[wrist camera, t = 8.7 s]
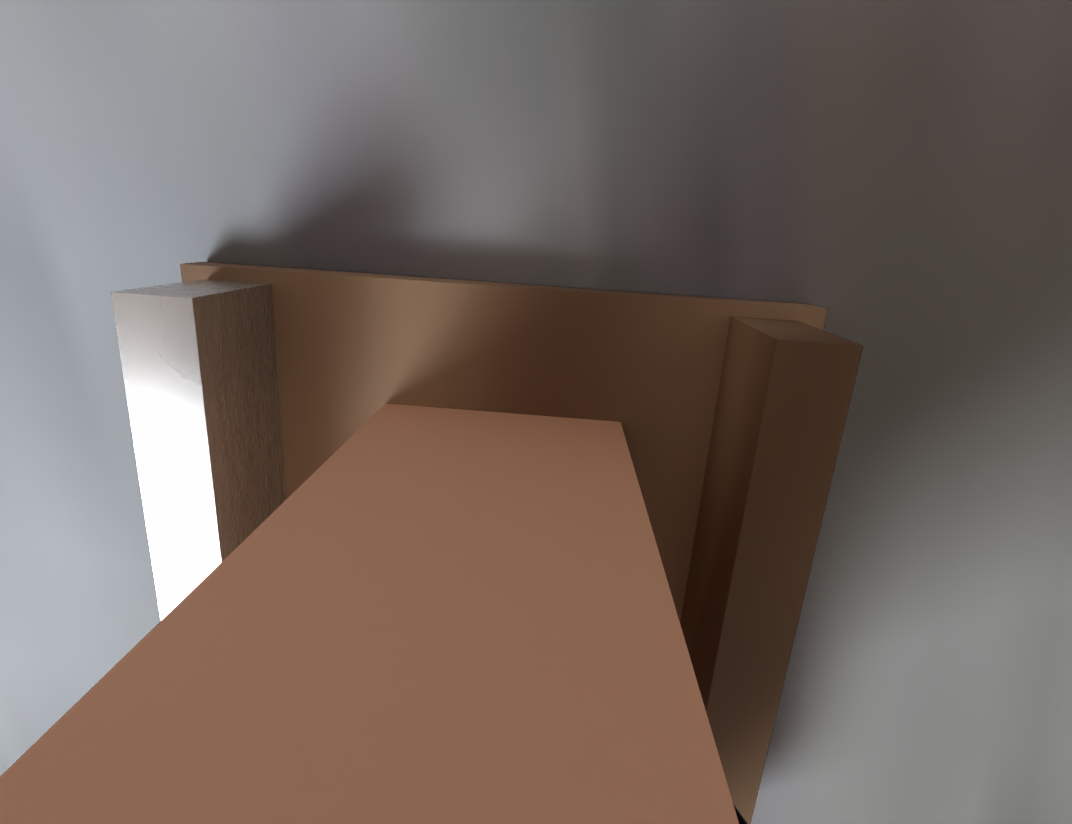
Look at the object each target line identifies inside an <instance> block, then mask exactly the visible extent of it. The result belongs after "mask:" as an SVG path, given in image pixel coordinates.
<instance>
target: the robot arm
mask: <svg viewBox="0 0 1072 824" xmlns="http://www.w3.org/2000/svg"><path fill="white" fill-rule="evenodd" d="M733 805H734V804H733ZM734 808H735V812H736V815H737V818H738V822H739V824H748V823H747V821H746V820H745V819H744V817H743V816H742V815H741V813H740V812H739V810H738V809H737V808H736V806H735V805H734Z"/></svg>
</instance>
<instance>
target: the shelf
mask: <svg viewBox="0 0 1072 824" xmlns="http://www.w3.org/2000/svg"><path fill="white" fill-rule="evenodd" d="M180 266H181V275H182V283H175V284H167V285H160V286H153V287H145V288H138V289H131V290H123V291H116V292H111V297H112V304H113V311H114V317H115V324H116V330H117V337H118V343H119V350H120V357H121V363H122V370H123V376H124V383H125V389H126V396H127V403H128V409H129V416H130V422H131V429H132V435H133V442H134V449H135V455H136V462H137V468H138V475H139V481H140V488H141V495H142V501H143V508H144V514H145V521H146V527H147V534H148V541H149V547H150V554H151V560H152V567H153V573H154V580H155V587H156V593H157V600H158V606H159V613H160V619H161V621H162V620H163V619H164V618H165V617H166V616H167V615H168V614H169V613H170V612H171V611H172V610H173V609H174V608H175V607H176V606H177V605H178V604H179V603H180V602H181V601H182V600H183V599H184V598H185V597H186V596H187V595H188V594H189V593H190V592H191V591H192V590H194V589H195V588H196V587H197V586H198V585H199V584H200V583H201V582H202V581H203V580H204V579H205V578H206V577H207V576H208V575H209V574H210V573H211V572H212V571H213V570H214V569H215V568H216V567H217V566H218V565H219V564H220V563H221V562H222V561H223V560H224V559H225V558H227V557H228V556H229V555H230V554H231V553H232V552H233V551H234V550H235V549H236V548H237V547H238V546H239V545H240V544H241V543H242V542H243V541H244V540H245V539H246V538H247V537H248V536H249V535H250V534H251V533H252V532H253V531H254V530H255V529H256V528H257V527H259V526H260V525H261V524H262V523H263V522H264V521H265V520H266V519H267V518H268V517H269V516H270V515H271V514H272V513H273V512H274V511H275V510H276V509H277V508H278V507H279V506H280V505H281V504H282V503H283V502H284V501H285V500H286V499H287V498H288V497H289V496H291V495H292V494H293V493H294V492H295V491H296V490H297V489H298V488H299V487H300V486H301V485H302V484H303V483H304V482H305V481H306V480H307V479H308V478H309V477H310V476H311V475H312V474H313V473H314V472H315V471H316V470H317V469H318V468H319V467H320V466H321V465H323V464H324V463H325V462H326V461H327V460H328V459H329V458H330V457H331V456H332V455H333V454H334V453H335V452H336V451H337V450H338V449H339V448H340V447H341V446H342V445H343V444H344V443H345V442H346V441H347V440H348V439H349V438H350V437H351V436H352V435H353V434H355V433H356V432H357V431H358V430H359V429H360V428H361V427H362V426H363V425H364V424H365V423H366V422H367V421H368V420H369V419H370V418H371V417H372V416H373V415H374V414H375V413H376V412H377V411H378V410H379V409H380V408H381V407H382V406H383V405H384V404H398V405H411V406H423V407H436V408H449V409H462V410H475V411H487V412H500V413H513V414H526V415H539V416H552V417H564V418H577V419H590V420H603V421H616V422H621V425H622V428H623V432H624V435H625V439H626V442H627V445H628V449H629V452H630V456H631V459H632V462H633V466H634V469H635V473H636V476H637V479H638V483H639V486H640V489H641V493H642V496H643V500H644V503H645V506H646V510H647V513H648V517H649V520H650V523H651V527H652V530H653V534H654V537H655V540H656V544H657V547H658V550H659V554H660V557H661V561H662V564H663V567H664V571H665V574H666V578H667V581H668V584H669V588H670V591H671V595H672V598H673V601H674V605H675V608H676V612H677V615H678V618H679V622H680V625H681V628H682V632H683V635H684V639H685V642H686V645H687V649H688V652H689V656H690V659H691V662H692V666H693V669H694V673H695V676H696V679H697V683H698V686H699V689H700V693H701V696H702V700H703V703H704V706H705V710H706V713H707V717H708V720H709V723H710V727H711V730H712V734H713V737H714V740H715V744H716V747H717V750H718V754H719V757H720V761H721V764H722V767H723V771H724V774H725V778H726V781H727V784H728V788H729V791H730V795H731V798H732V801H733V804H734V805H735V806H736V808H737V809H738V810H739V812H740V813H741V815H742V816H743V817H744V819H745V820H746V821H747V823H748V824H751V820H752V815H753V811H754V807H755V803H756V798H757V794H758V790H759V786H760V782H761V777H762V773H763V769H764V765H765V760H766V756H767V752H768V748H769V743H770V739H771V735H772V731H773V726H774V722H775V718H776V714H777V709H778V705H779V701H780V697H781V692H782V688H783V684H784V680H785V675H786V671H787V667H788V663H789V658H790V654H791V650H792V646H793V642H794V637H795V633H796V629H797V625H798V620H799V616H800V612H801V608H802V603H803V599H804V595H805V591H806V586H807V582H808V578H809V574H810V569H811V565H812V561H813V557H814V552H815V548H816V544H817V540H818V535H819V531H820V527H821V523H822V518H823V514H824V510H825V506H826V502H827V497H828V493H829V489H830V485H831V480H832V476H833V472H834V468H835V463H836V459H837V455H838V451H839V446H840V442H841V438H842V434H843V429H844V425H845V421H846V417H847V412H848V408H849V404H850V400H851V395H852V391H853V387H854V383H855V378H856V374H857V370H858V366H859V362H860V357H861V353H862V349H863V346H862V345H859V344H857V343H854V342H851V341H849V340H846V339H844V338H841V337H838V336H836V335H833V334H831V333H828V332H826V331H823V329H824V324H825V319H826V314H827V310H828V309H825V308H822V307H818V306H815V305H812V304H798V303H784V302H770V301H755V300H741V299H727V298H712V297H698V296H684V295H670V294H655V293H641V292H627V291H612V290H598V289H584V288H569V287H555V286H541V285H527V284H512V283H498V282H484V281H469V280H455V279H441V278H426V277H412V276H398V275H384V274H369V273H355V272H341V271H326V270H312V269H298V268H283V267H269V266H255V265H241V264H226V263H212V262H196V263H185V264H180Z"/></svg>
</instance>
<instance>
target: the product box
mask: <svg viewBox="0 0 1072 824" xmlns="http://www.w3.org/2000/svg"><path fill="white" fill-rule="evenodd" d="M0 824H739V822H738V818H737V815H736V812H735V808H734V805H733V801H732V798H731V795H730V791H729V788H728V784H727V781H726V778H725V774H724V771H723V767H722V764H721V761H720V757H719V754H718V750H717V747H716V744H715V740H714V737H713V734H712V730H711V727H710V723H709V720H708V717H707V713H706V710H705V706H704V703H703V700H702V696H701V693H700V689H699V686H698V683H697V679H696V676H695V673H694V669H693V666H692V662H691V659H690V656H689V652H688V649H687V645H686V642H685V639H684V635H683V632H682V628H681V625H680V622H679V618H678V615H677V612H676V608H675V605H674V601H673V598H672V595H671V591H670V588H669V584H668V581H667V578H666V574H665V571H664V567H663V564H662V561H661V557H660V554H659V550H658V547H657V544H656V540H655V537H654V534H653V530H652V527H651V523H650V520H649V517H648V513H647V510H646V506H645V503H644V500H643V496H642V493H641V489H640V486H639V483H638V479H637V476H636V473H635V469H634V466H633V462H632V459H631V456H630V452H629V449H628V445H627V442H626V439H625V435H624V432H623V428H622V425H621V422H616V421H603V420H590V419H577V418H564V417H552V416H539V415H526V414H513V413H500V412H487V411H475V410H462V409H449V408H436V407H423V406H411V405H398V404H384V405H383V406H382V407H381V408H380V409H379V410H378V411H377V412H376V413H375V414H374V415H373V416H372V417H371V418H370V419H369V420H368V421H367V422H366V423H365V424H364V425H363V426H362V427H361V428H360V429H359V430H358V431H357V432H356V433H355V434H353V435H352V436H351V437H350V438H349V439H348V440H347V441H346V442H345V443H344V444H343V445H342V446H341V447H340V448H339V449H338V450H337V451H336V452H335V453H334V454H333V455H332V456H331V457H330V458H329V459H328V460H327V461H326V462H325V463H324V464H323V465H321V466H320V467H319V468H318V469H317V470H316V471H315V472H314V473H313V474H312V475H311V476H310V477H309V478H308V479H307V480H306V481H305V482H304V483H303V484H302V485H301V486H300V487H299V488H298V489H297V490H296V491H295V492H294V493H293V494H292V495H291V496H289V497H288V498H287V499H286V500H285V501H284V502H283V503H282V504H281V505H280V506H279V507H278V508H277V509H276V510H275V511H274V512H273V513H272V514H271V515H270V516H269V517H268V518H267V519H266V520H265V521H264V522H263V523H262V524H261V525H260V526H259V527H257V528H256V529H255V530H254V531H253V532H252V533H251V534H250V535H249V536H248V537H247V538H246V539H245V540H244V541H243V542H242V543H241V544H240V545H239V546H238V547H237V548H236V549H235V550H234V551H233V552H232V553H231V554H230V555H229V556H228V557H227V558H225V559H224V560H223V561H222V562H221V563H220V564H219V565H218V566H217V567H216V568H215V569H214V570H213V571H212V572H211V573H210V574H209V575H208V576H207V577H206V578H205V579H204V580H203V581H202V582H201V583H200V584H199V585H198V586H197V587H196V588H195V589H194V590H192V591H191V592H190V593H189V594H188V595H187V596H186V597H185V598H184V599H183V600H182V601H181V602H180V603H179V604H178V605H177V606H176V607H175V608H174V609H173V610H172V611H171V612H170V613H169V614H168V615H167V616H166V617H165V618H164V619H163V620H162V621H160V622H159V623H158V624H157V625H156V626H155V627H154V628H153V629H152V630H151V631H150V632H149V633H148V634H147V635H146V636H145V637H144V638H143V639H142V640H141V641H140V642H139V643H138V644H137V645H136V646H135V647H134V648H133V649H132V650H131V651H130V652H128V653H127V654H126V655H125V656H124V657H123V658H122V659H121V660H120V661H119V662H118V663H117V664H116V665H115V666H114V667H113V668H112V669H111V670H110V671H109V672H108V673H107V674H106V675H105V676H104V677H103V678H102V679H101V680H100V681H99V682H98V683H96V684H95V685H94V686H93V687H92V688H91V689H90V690H89V691H88V692H87V693H86V694H85V695H84V696H83V697H82V698H81V699H80V700H79V701H78V702H77V703H76V704H75V705H74V706H73V707H72V708H71V709H70V710H69V711H68V712H67V713H66V714H64V715H63V716H62V717H61V718H60V719H59V720H58V721H57V722H56V723H55V724H54V725H53V726H52V727H51V728H50V729H49V730H48V731H47V732H46V733H45V734H44V735H43V736H42V737H41V738H40V739H39V740H38V741H37V742H36V743H35V744H34V745H33V746H31V747H30V748H29V749H28V750H27V751H26V752H25V753H24V754H23V755H22V756H21V757H20V758H19V759H18V760H17V761H16V762H15V763H14V764H13V765H12V766H11V767H10V768H9V769H8V770H7V771H6V772H5V773H4V774H3V775H2V776H1V777H0Z"/></svg>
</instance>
